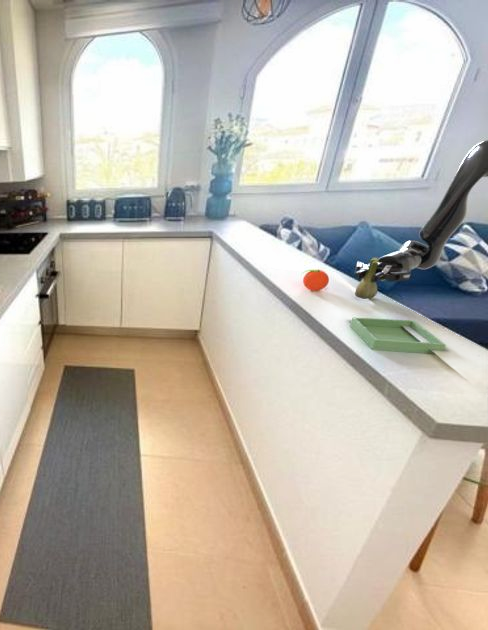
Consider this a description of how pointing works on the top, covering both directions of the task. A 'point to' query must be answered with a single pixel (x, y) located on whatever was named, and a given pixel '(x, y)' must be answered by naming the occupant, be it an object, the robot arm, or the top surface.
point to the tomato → (315, 280)
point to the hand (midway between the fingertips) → (365, 277)
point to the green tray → (394, 335)
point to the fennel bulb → (368, 282)
